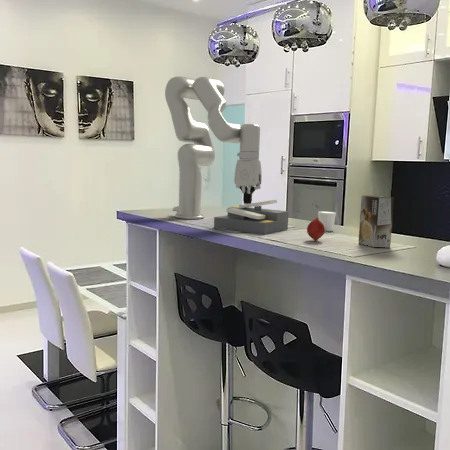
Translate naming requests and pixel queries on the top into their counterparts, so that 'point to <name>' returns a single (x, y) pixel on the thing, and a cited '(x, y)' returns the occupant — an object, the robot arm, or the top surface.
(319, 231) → the onion
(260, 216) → the bar
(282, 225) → the switch console
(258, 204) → the rear rocker
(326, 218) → the white cup
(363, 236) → the coffee box
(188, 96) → the robot arm
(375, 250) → the top surface
